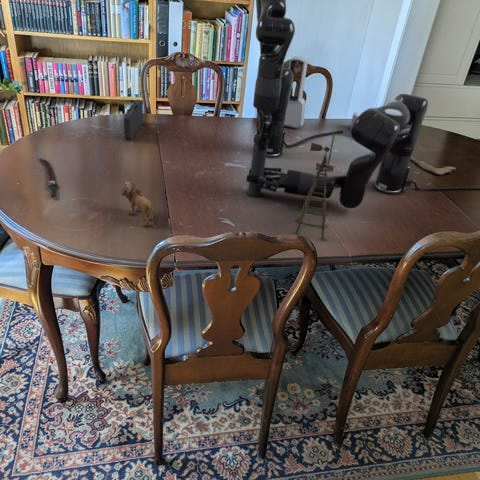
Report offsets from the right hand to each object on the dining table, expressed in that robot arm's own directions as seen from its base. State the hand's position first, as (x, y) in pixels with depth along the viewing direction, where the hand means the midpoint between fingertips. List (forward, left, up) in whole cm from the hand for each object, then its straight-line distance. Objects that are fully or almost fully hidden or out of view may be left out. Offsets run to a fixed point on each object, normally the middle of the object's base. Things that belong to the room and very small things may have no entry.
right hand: (248, 174), depth 152 cm
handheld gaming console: (+32, -58, -7) cm, 67 cm away
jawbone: (-83, -17, -7) cm, 85 cm away
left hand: (-2, +1, +10) cm, 11 cm away
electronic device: (-38, -64, -7) cm, 75 cm away
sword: (+63, -16, -7) cm, 65 cm away
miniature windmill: (-13, +25, -7) cm, 29 cm away
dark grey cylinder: (-2, +1, -7) cm, 7 cm away
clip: (-71, -52, -7) cm, 89 cm away
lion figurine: (+36, +12, -7) cm, 39 cm away
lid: (-3, +1, +13) cm, 13 cm away
